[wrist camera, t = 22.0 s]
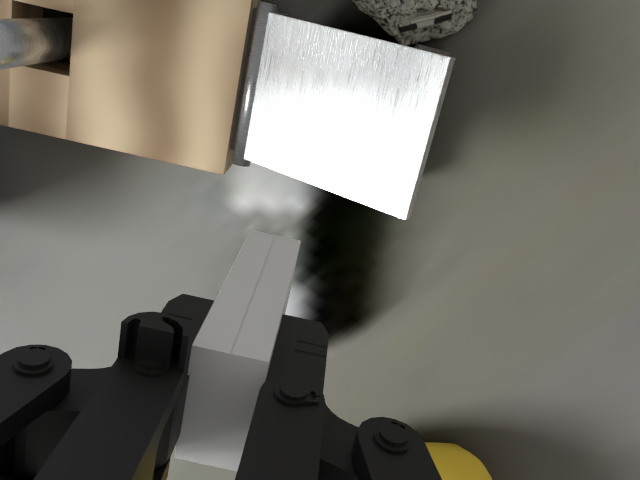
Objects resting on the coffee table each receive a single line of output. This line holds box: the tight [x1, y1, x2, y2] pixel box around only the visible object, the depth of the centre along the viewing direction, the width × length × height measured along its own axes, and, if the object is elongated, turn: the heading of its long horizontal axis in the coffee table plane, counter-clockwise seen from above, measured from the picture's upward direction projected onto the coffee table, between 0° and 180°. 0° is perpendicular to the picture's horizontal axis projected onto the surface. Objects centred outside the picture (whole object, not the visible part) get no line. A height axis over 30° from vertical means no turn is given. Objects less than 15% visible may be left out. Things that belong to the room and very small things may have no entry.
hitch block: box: [0, 0, 451, 175], centre depth 40 cm, size 30×12×4 cm, turn 78°
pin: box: [0, 17, 73, 70], centre depth 35 cm, size 3×3×14 cm
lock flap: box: [232, 1, 455, 220], centre depth 36 cm, size 1×10×13 cm
